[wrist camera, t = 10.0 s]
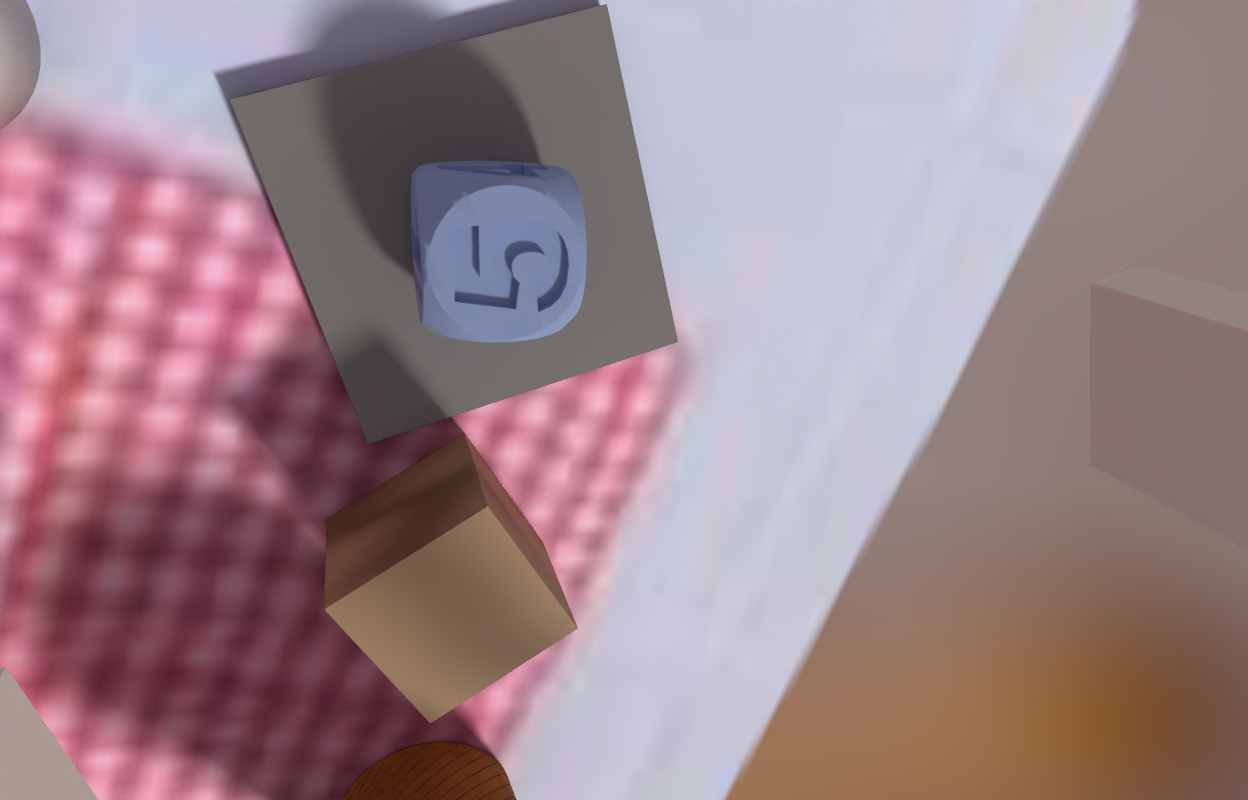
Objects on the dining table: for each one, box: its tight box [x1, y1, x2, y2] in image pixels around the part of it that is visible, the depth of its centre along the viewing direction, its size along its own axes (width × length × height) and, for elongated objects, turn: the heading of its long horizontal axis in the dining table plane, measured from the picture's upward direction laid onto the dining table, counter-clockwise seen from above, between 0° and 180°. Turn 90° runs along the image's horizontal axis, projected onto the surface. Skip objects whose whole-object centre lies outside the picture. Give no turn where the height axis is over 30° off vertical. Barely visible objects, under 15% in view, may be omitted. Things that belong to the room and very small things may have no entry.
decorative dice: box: [411, 161, 587, 342], centre depth 23 cm, size 4×4×4 cm
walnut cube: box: [324, 433, 578, 723], centre depth 26 cm, size 5×5×5 cm
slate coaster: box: [230, 4, 678, 444], centre depth 25 cm, size 10×10×1 cm
